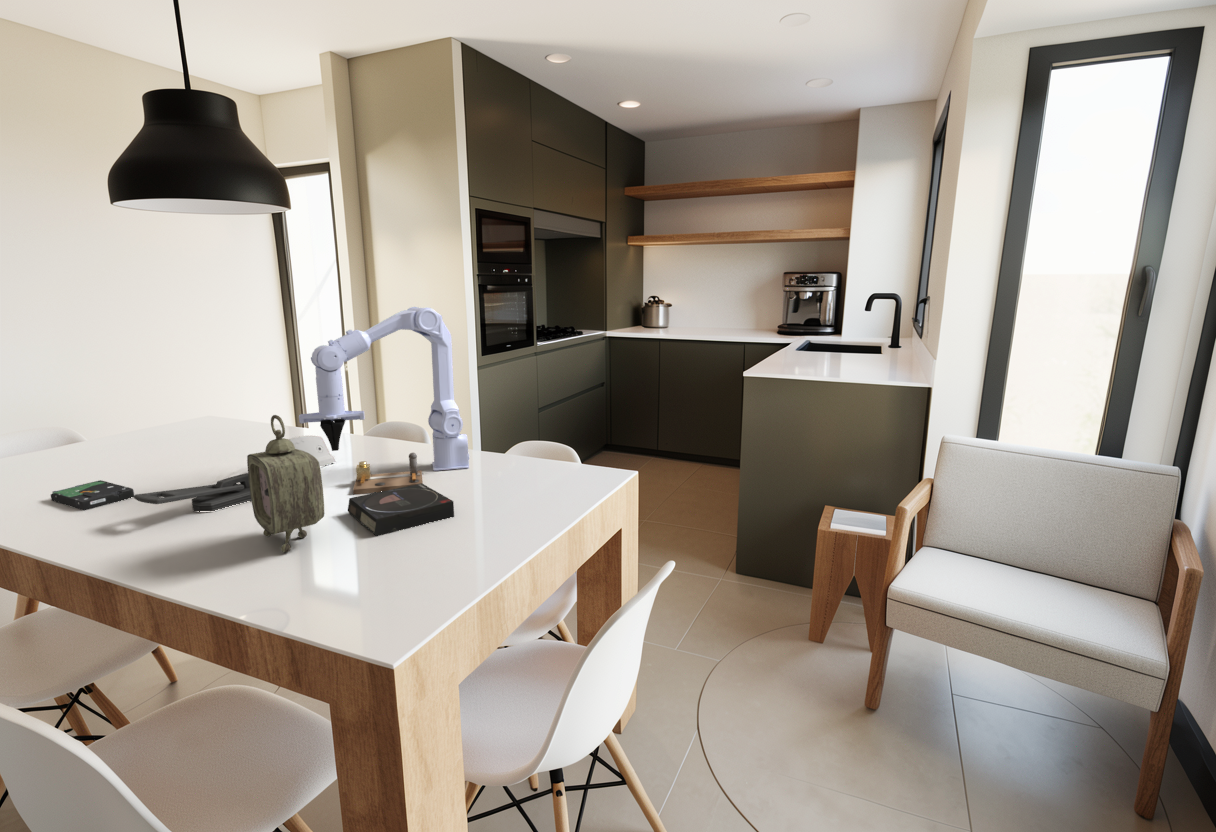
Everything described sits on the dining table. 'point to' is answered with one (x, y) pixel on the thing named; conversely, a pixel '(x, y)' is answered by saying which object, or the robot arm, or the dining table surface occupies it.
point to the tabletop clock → (285, 487)
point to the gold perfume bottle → (363, 471)
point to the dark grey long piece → (205, 494)
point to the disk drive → (92, 495)
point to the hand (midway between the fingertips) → (335, 449)
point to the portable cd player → (400, 508)
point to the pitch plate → (390, 479)
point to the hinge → (314, 448)
